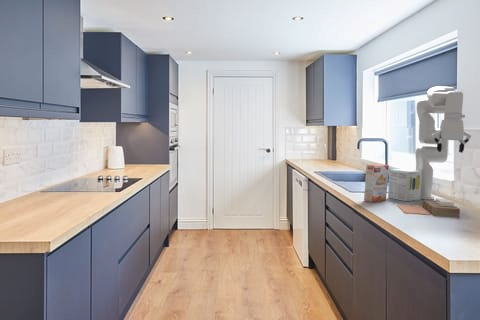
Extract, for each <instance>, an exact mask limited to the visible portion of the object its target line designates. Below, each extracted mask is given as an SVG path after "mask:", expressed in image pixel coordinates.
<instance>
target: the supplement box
mask: <svg viewBox="0 0 480 320" xmlns="http://www.w3.org/2000/svg"><path fill="white" fill-rule="evenodd" d="M421 181H422V171H418V170H416V169H409V168H389V173H388V188H387V198H389V199H394V200H398V201H399V200H400V201H401V202H403V201H404V202H412V201H413V200H414V201H420V200H421V199H420V196H421ZM414 201H413V202H414Z"/></svg>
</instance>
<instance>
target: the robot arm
mask: <svg viewBox="0 0 480 320" xmlns="http://www.w3.org/2000/svg"><path fill="white" fill-rule="evenodd" d="M426 96H427V98H423V99H419V100H418V101H417V103H416V113H417V117H418V121H419V122H418V123H419V124H418V141H419V143H420V144H424V145H423V146H419V147H417V148H416V149H415V152H414V153H415V170H418V171H422V181H421V196H420V200H434V199H435V196H432V192H433V177H434V168H433V167H432V165H431V164H430V163H437V164H438V163H439V164H441V163H442V164H443V163H446V161H447V160H448V152H449V141H458V142H459V143H460V144H459V145H458V146H459V148H458V153H461V154H463V153H464V152H463V151H465V145H466V144H467V143H468V142H469V141H470V140H471V138H472V135H471V134H469V133H466V132H464V131H465V129H464V127H465V126H464V120H463V119H464V118H465V117H466V115H465V114H463V105H464V104H463V103H464V93H463V92H462V91H459V90H458V91H456V89H455V87H452V86H434V87H431V88H429V89H428V91H427V92H426ZM432 114H443V115H444V116H443V119H441V122H440V125H439V126H440V127H439V128H436V127H435V126H436V124H435V123H436V121H435V119H434V118H435V117H433V116H432ZM464 137H465V139H464ZM425 145H426V146H425ZM428 145H430V146H428ZM431 145H437V146H431Z"/></svg>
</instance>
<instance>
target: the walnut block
mask: <svg viewBox="0 0 480 320" xmlns="http://www.w3.org/2000/svg"><path fill="white" fill-rule="evenodd" d="M421 207H422V208H423V209H425V210H426V211H427V212H428V213H430V215H432V216H440V217H454V218H455V217H456V218H459V217H460V213H461V209H460V208H459V207H458V206H455V205H454V206H441V205H439V204H438V203H436V199H435V200H434V199H431V200H426V199H422V206H421Z"/></svg>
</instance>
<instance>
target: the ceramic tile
mask: <svg viewBox="0 0 480 320" xmlns="http://www.w3.org/2000/svg"><path fill="white" fill-rule="evenodd" d="M435 200H436V203H438V204H439V205H441V206H455V202H454V201H452V200H451V199H448V198H435Z"/></svg>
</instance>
